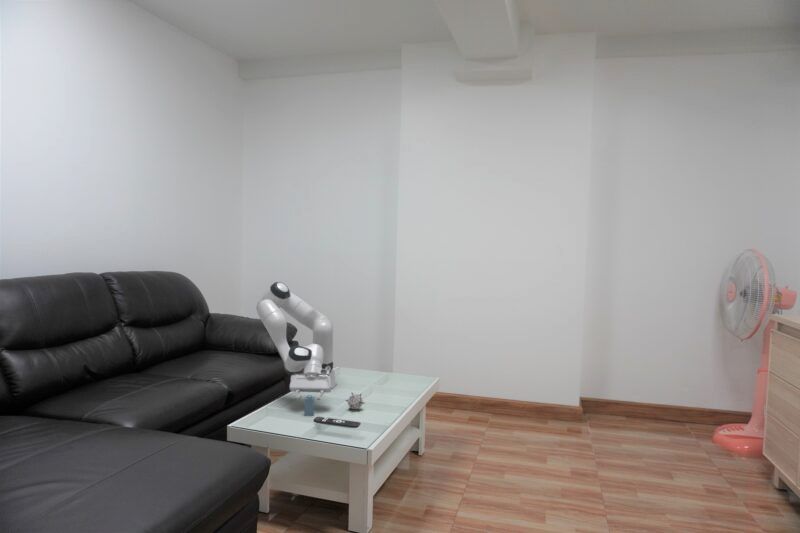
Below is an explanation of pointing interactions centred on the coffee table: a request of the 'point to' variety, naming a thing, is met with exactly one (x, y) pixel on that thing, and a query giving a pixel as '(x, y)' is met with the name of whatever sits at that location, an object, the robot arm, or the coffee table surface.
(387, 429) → the coffee table surface
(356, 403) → the twenty-sided die
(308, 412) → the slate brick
